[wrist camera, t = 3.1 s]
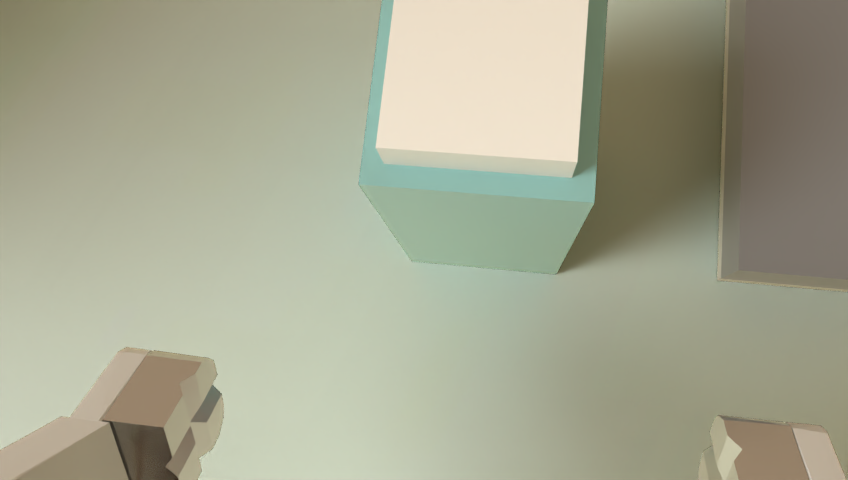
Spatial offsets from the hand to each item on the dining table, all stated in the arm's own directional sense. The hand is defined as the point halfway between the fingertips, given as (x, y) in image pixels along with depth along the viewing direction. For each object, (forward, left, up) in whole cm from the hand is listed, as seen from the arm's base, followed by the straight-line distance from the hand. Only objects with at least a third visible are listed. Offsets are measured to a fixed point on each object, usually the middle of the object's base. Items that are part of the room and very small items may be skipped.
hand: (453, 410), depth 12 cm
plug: (0, +6, -10) cm, 12 cm away
